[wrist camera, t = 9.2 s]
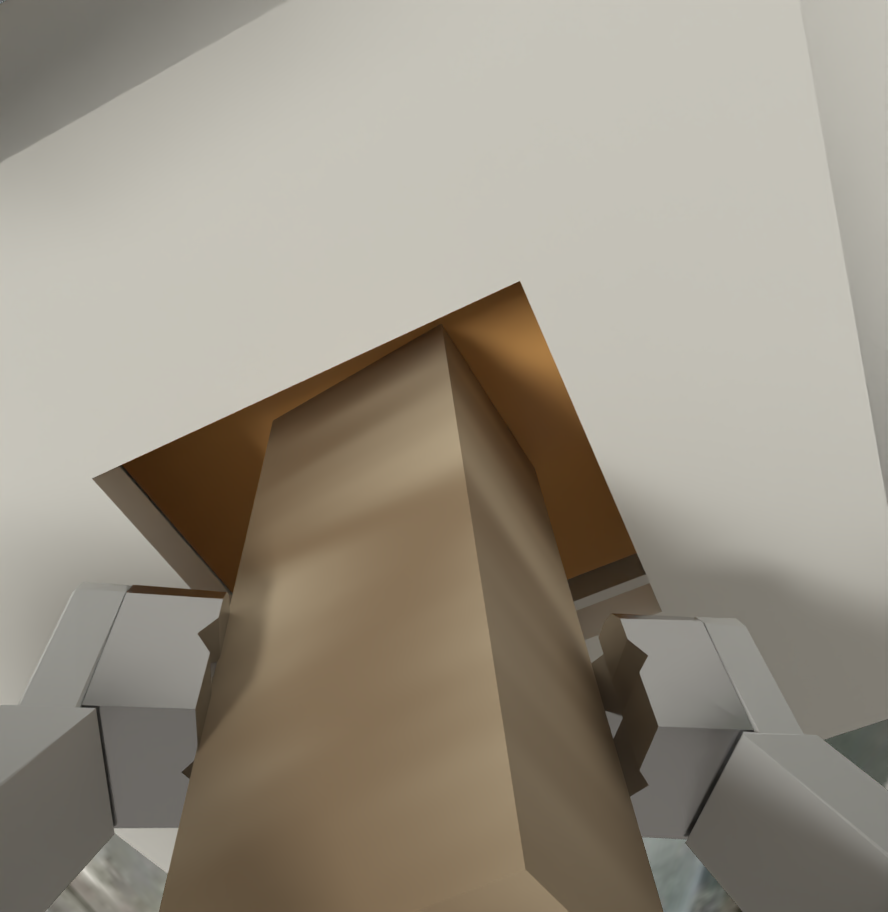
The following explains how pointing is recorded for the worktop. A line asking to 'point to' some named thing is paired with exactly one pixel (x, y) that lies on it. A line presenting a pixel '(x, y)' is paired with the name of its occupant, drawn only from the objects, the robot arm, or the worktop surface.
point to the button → (471, 329)
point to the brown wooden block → (404, 677)
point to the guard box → (464, 279)
